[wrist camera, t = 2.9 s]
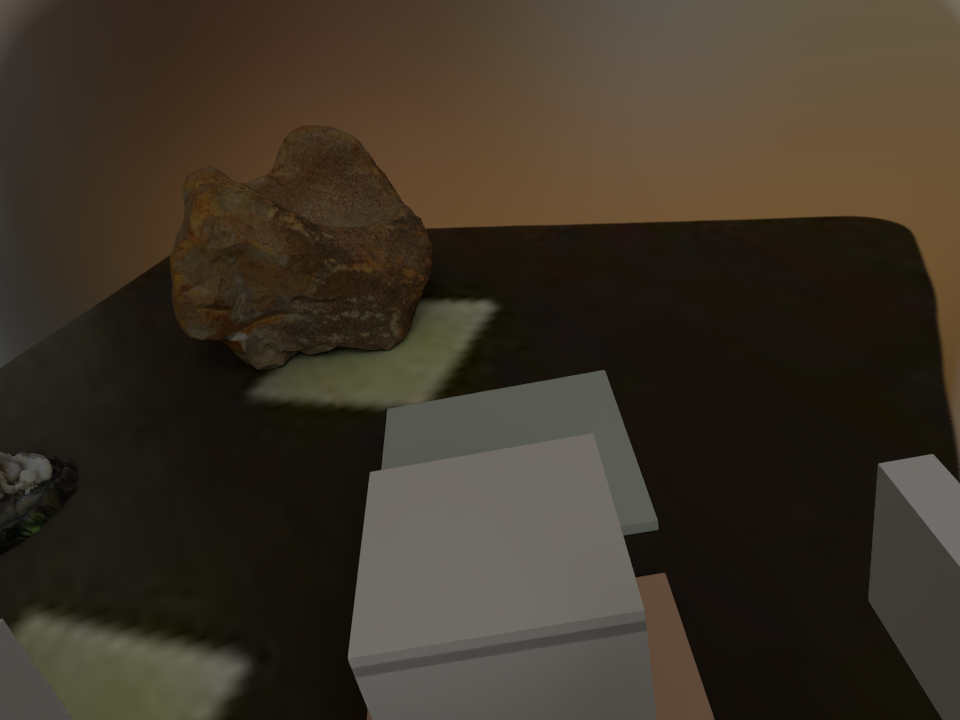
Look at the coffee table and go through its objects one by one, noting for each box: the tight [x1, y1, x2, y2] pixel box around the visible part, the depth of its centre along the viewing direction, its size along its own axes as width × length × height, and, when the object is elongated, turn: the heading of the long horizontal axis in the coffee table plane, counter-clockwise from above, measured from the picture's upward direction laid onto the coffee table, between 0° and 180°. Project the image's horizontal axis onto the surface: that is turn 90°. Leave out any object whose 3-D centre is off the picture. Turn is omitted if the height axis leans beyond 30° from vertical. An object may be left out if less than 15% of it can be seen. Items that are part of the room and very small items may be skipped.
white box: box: [348, 433, 657, 720], centre depth 27 cm, size 8×8×10 cm
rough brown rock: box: [170, 126, 432, 370], centre depth 60 cm, size 23×17×15 cm
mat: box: [381, 370, 658, 536], centre depth 44 cm, size 14×14×1 cm
